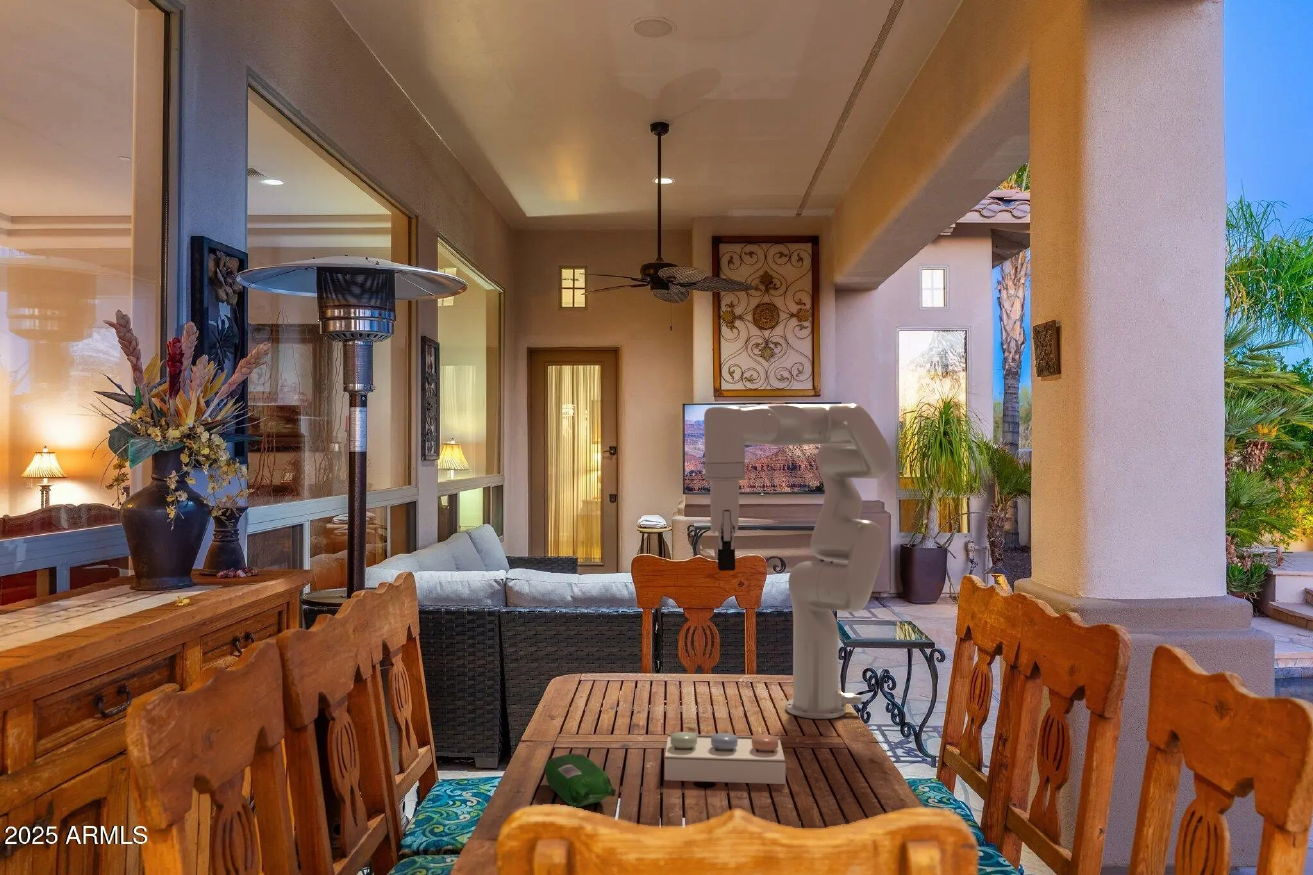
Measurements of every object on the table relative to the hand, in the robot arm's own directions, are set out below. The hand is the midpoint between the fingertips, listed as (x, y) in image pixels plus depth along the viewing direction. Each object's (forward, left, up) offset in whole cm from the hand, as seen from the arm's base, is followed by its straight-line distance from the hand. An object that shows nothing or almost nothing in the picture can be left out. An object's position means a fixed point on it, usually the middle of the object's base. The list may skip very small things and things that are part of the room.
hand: (726, 569), depth 159 cm
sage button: (+7, +12, -31) cm, 34 cm away
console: (0, +12, -33) cm, 35 cm away
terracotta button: (-7, +12, -31) cm, 34 cm away
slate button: (0, +12, -31) cm, 33 cm away
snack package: (+24, +26, -33) cm, 48 cm away
